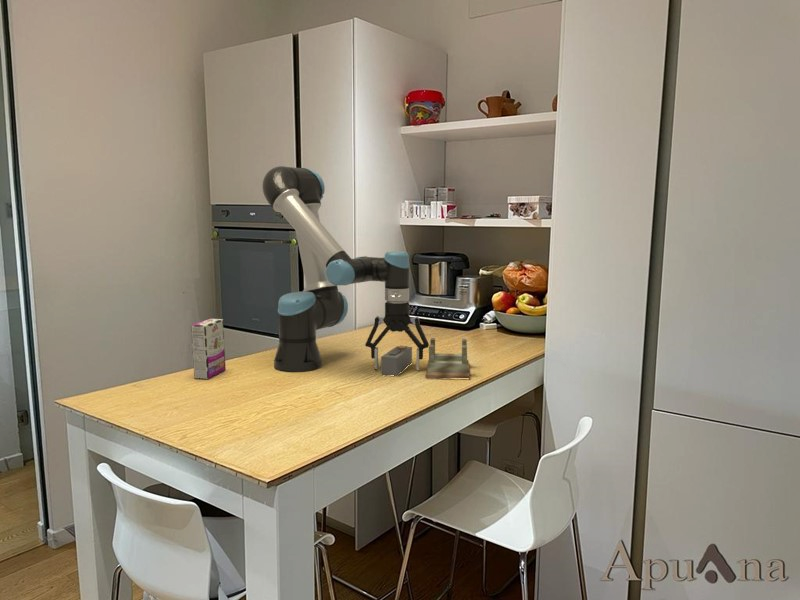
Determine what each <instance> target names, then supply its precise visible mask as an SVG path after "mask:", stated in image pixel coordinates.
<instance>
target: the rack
mask: <svg viewBox="0 0 800 600" xmlns="http://www.w3.org/2000/svg"><path fill="white" fill-rule="evenodd" d="M467 340H468V339H467V338H462V339H461V353H440V352H439V353H437V352H436V337H430V341H429V342H430V343H429V346H428V360H427V365H426V370H425V376H424V379H425V378H469V379H470V365H469V359H468V345H467V343H468V341H467Z"/></svg>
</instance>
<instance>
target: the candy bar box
mask: <svg viewBox="0 0 800 600" xmlns="http://www.w3.org/2000/svg"><path fill="white" fill-rule="evenodd" d="M190 327H191V328H190V329H191V343H192V345H191V346H192V347H191V348H192V360H193V378H194V379H195V378H198V379H197V380H210V379H212V378H214V377H216V376H218V375H220V374H221V373H223V372H225V371H226V370H227V369H226V354H225V353H226V351H225V335H224V334H225V333H224V319H223V318H221V319H220V318H209V319H205V320H203V321H200V322H197V323H194V324H191V325H190ZM219 373H220V374H219ZM217 374H218V375H217ZM215 375H216V376H215ZM213 376H214V377H213ZM199 378H200V379H199Z"/></svg>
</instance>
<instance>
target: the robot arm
mask: <svg viewBox="0 0 800 600" xmlns="http://www.w3.org/2000/svg"><path fill="white" fill-rule="evenodd" d="M325 188H326V187H325V182H324V181H323V178H322V177H321V175H320V174H319V173H318V172H316V171H315V170H313V169H310V168H306V167H292V166H291V167H290V166H283V165H282V166H276V167H273V168H271V169H270V170H268V171H267V172H266V174H265V176H264V178H263V180H262V192H263V196H264V198H265V200H266V201H267V203H268V204H269V206H270V207H271V208H272V209H273V210H274V211H275V212H276V213H280V214H281V215H282V216H283V218H284V219H285V220H286V221H287V222H288V223H289V225H290V227H291V226H292V228H293V229H294V230H295V234H296V240H297V245H298V250H299V255H300V260H301V265H302V270H303V275H304V281H305V288H304V289H303V290H302V291H296V292H294V291H293V292H289V293H286V294H283V295H282V296H280V297H279V300H278V307H277V314H278V315H277V316H278V317H277V319H278V320H277V321H278V345H277V350H276V352H275V357H274V360H273V366H274V369H275V370H278V371H282V372H308V371H309V372H310V371H313V370H317V369H319V368H321V367H322V366H323V365H322V364H323V363H322V361H323V359H322V355H321V352H320V349H319V347H318V344H317V330H322V329H325V328H326V329H327V328H331V327H334V326H336V325H339V324H340V323H342V322H343V321H344V320H345V318H346V317H347V314H348V312H349V311H348V309H349V303H348V300H347V298H346V296H345V295H343V293H342V292H341V291H339V288H338V286H348V285H352V284H360V283H366V282H382V283H383V282H384V300H385V303H384V317H380V316H376V317H375V318H374V324H373V327H372V329H371V331H370V332H369V336H368V338H367V339H366V342H365V345H364V346H365V347H366V348H367V347H368V348H370V353H371V356H370V358H371V359H374V370H375V369H377V368H378V369H379V347H377V345H378V344H379V343H380V342H381V341H382V339H383V338H384V337H385V336H386V335H387V333H388V332H389V331H391V332H400V333H402V332H405V333H406V334H407V336H408V337H409V338H410V339H411V341H412V342H413V343H414V344H415V346H416V347H417V348H416V364H415V366H416V371H417V370H419V371H420V360H423V358H424V349H426V348H428V349H429V345H430V343H429V341H428V339H427V337H426V335H425V332H424V330H423V327H422V326H421V324H420V318H419V316H416V317H410V303H409V301H410V266H411V265H410V256H409V253H408V252H406V251H386V252H385V253H384V257H377V256H376V257H373V256H367V255H364V256H356V257H353V258H351V256H350V255H349V254H348V253H347V252H346V251H345V250H344V248H343V247H342V246H341V245H340V244H339V242H338V241H336V239H335V237H333V235H332V234H331V233H330V232H329V231H328V229H326V227H325V226H324V225H323V224H322V222H321V220H320V216H319V215H320V214H319V210H320V208H321V207H322V203H321V202H322V201H321V200H322V199H323V197H324V194H325V191H326V190H325ZM382 322H383V323H384V324H385V328H384V329H383V330H382V332H381V333H380V334H379V335H378V337H377V338H376V339H375V340H374V342H372V340H373V338H374V337H375V334H376V332H377V330H378V327H379V325H381V324H382ZM410 323H412V325H414V326H415V328H416V331H417V333H418V335H419V337H420V339H421V340H419V339H418V337H417V336H416V334H415V333H414V332H413V331H412V330H411V328H410V327H409V325H410ZM421 341H422V342H421ZM378 369H377V370H378Z"/></svg>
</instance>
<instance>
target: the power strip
mask: <svg viewBox="0 0 800 600" xmlns="http://www.w3.org/2000/svg"><path fill="white" fill-rule="evenodd" d="M411 363H412V364H413V347H412V346H408V345H401V344H400V345H397V346H395V347H394V348H392V349H390V350H389V351H387V352H386V353H384V354H383V355H381V357H380V375H381V374H382V375H381V376H383V375H394V376H393V377H395V376H397V375H398V374H399V373H400V372H402V371H403V370H404V369H405V368H406V367H407V366H408V365H410V364H411ZM404 371H405V370H404ZM404 371H403V372H404ZM403 372H402V373H403ZM399 375H400V374H399ZM399 375H398V376H399ZM398 376H397V377H398Z"/></svg>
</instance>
